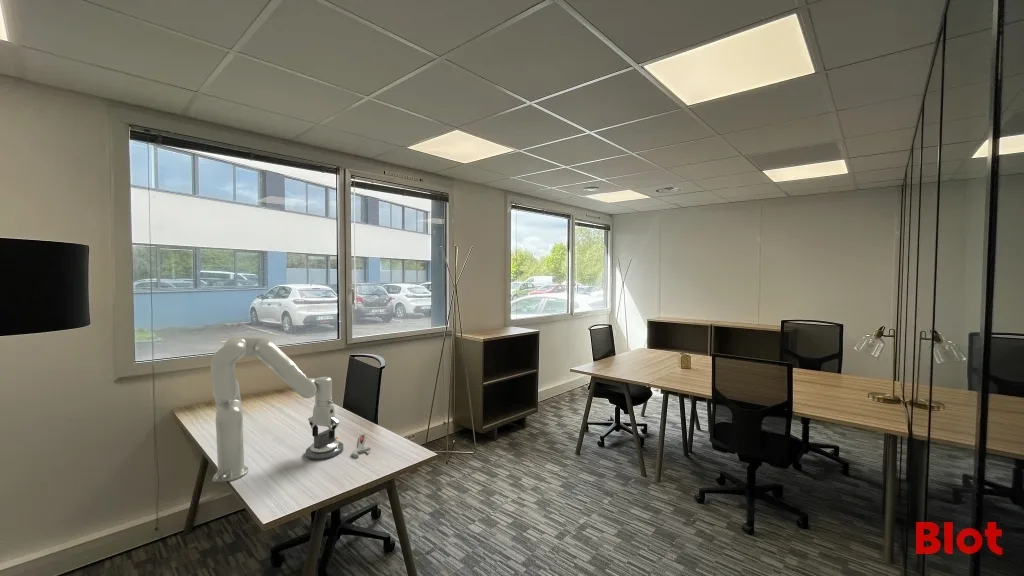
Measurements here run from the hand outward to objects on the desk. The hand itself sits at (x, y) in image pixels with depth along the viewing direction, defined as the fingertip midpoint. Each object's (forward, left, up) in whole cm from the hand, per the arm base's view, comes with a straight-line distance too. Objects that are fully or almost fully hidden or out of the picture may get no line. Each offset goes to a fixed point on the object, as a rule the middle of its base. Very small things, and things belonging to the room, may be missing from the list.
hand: (323, 436), depth 197 cm
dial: (+1, -1, -6) cm, 6 cm away
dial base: (0, 0, -8) cm, 8 cm away
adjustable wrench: (+5, -17, -9) cm, 20 cm away
